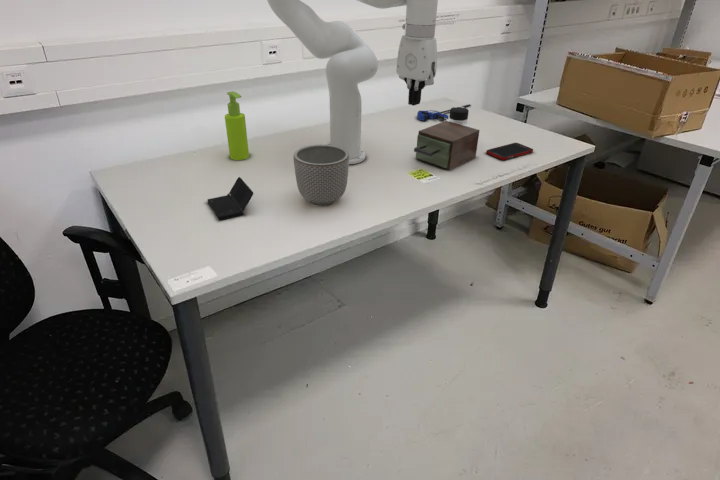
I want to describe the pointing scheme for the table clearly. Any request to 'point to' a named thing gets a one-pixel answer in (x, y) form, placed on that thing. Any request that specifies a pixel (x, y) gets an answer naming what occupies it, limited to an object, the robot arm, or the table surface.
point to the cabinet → (455, 141)
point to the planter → (321, 173)
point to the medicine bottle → (459, 116)
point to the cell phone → (509, 151)
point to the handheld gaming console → (232, 201)
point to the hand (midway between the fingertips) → (414, 103)
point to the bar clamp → (433, 114)
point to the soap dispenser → (236, 129)
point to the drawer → (432, 150)
